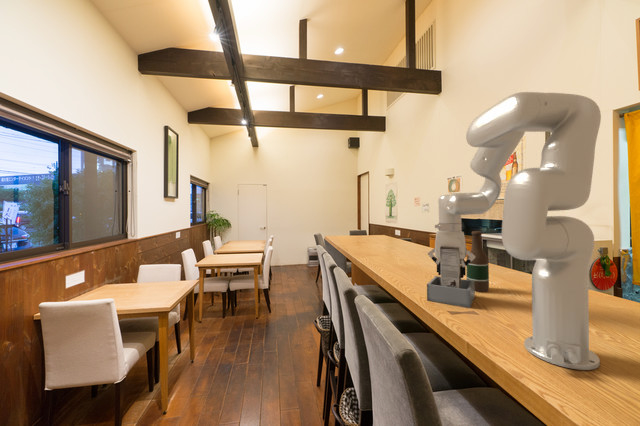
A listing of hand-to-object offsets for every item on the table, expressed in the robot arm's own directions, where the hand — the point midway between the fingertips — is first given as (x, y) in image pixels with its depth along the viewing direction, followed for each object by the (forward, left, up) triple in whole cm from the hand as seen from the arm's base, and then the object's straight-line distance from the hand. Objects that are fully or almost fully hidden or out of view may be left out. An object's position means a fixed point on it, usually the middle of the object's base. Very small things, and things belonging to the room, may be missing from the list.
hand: (450, 275), depth 97 cm
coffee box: (0, 0, -5) cm, 5 cm away
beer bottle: (+17, -7, -9) cm, 20 cm away
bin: (0, 0, -9) cm, 9 cm away
